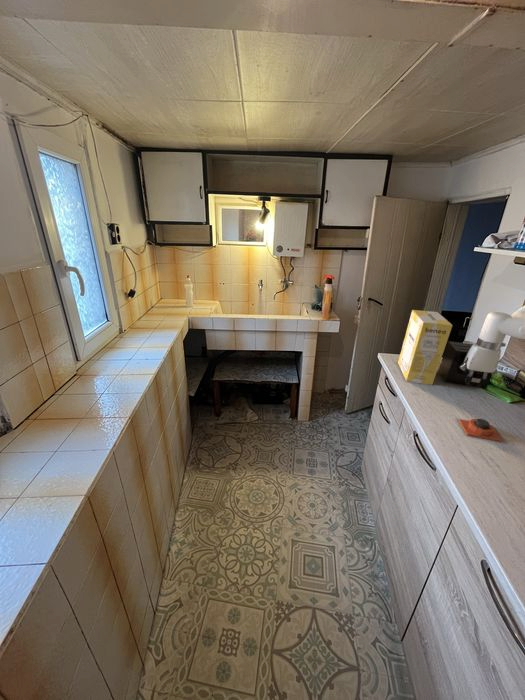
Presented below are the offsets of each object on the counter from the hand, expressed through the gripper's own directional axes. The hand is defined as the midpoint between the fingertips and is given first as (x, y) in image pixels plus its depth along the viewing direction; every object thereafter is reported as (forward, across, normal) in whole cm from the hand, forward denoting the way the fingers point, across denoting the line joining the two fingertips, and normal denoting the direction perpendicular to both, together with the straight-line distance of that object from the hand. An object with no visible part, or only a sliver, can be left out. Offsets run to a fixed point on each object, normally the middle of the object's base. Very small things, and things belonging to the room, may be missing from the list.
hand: (472, 384), depth 116 cm
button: (+1, +6, +28) cm, 28 cm away
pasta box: (+4, +20, -9) cm, 22 cm away
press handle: (-2, 0, -2) cm, 2 cm away
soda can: (+4, -5, -25) cm, 26 cm away
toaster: (+4, 0, -10) cm, 11 cm away
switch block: (+4, +6, +28) cm, 29 cm away
